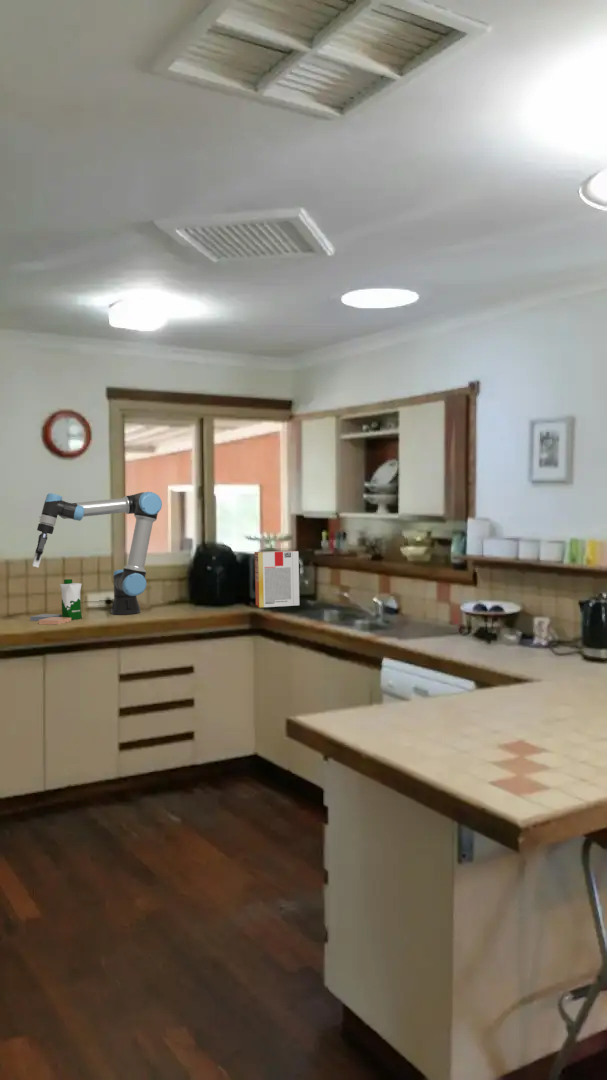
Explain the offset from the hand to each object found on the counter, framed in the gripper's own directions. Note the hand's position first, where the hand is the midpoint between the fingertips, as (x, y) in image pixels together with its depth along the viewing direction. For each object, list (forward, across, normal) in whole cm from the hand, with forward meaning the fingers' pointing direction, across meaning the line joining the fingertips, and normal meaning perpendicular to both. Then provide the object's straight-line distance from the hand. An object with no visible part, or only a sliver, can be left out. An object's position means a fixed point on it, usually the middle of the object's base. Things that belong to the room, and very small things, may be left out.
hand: (35, 566), depth 416 cm
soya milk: (+22, -9, +25) cm, 34 cm away
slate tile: (+25, -14, +13) cm, 31 cm away
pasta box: (-10, -14, +131) cm, 132 cm away
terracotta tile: (+24, +1, +16) cm, 29 cm away
